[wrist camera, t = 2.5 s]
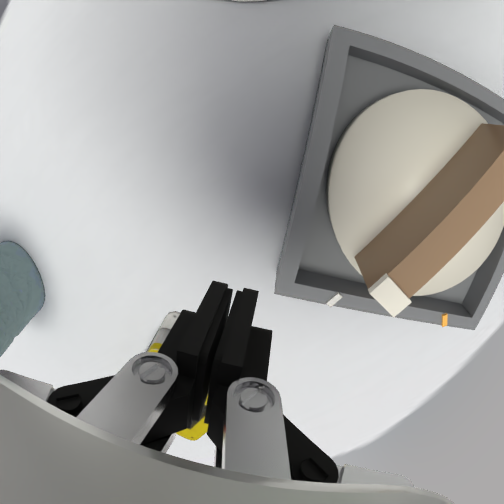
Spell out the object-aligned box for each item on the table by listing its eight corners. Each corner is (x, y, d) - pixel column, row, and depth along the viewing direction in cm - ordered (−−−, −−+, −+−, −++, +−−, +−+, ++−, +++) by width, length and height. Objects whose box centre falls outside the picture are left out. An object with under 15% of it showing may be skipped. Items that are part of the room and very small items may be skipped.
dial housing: (327, 39, 15) (334, 23, 12) (520, 125, 14) (545, 129, 11) (276, 272, 21) (274, 295, 18) (459, 309, 21) (475, 331, 18)
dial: (419, 51, 13) (464, 29, 8) (521, 200, 15) (569, 225, 10) (281, 194, 18) (277, 223, 13) (407, 317, 20) (432, 369, 15)
